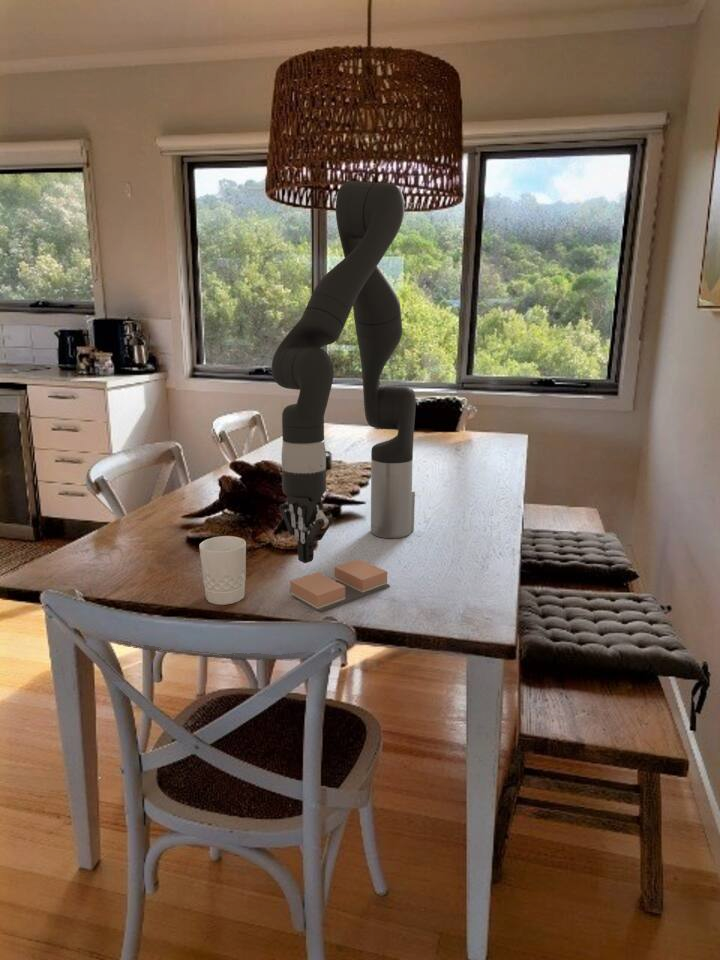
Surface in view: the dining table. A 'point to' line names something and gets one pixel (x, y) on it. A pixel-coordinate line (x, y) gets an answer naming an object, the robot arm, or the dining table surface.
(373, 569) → the tile
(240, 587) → the white cup
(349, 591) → the mat
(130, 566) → the dining table surface
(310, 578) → the tile
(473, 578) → the dining table surface
